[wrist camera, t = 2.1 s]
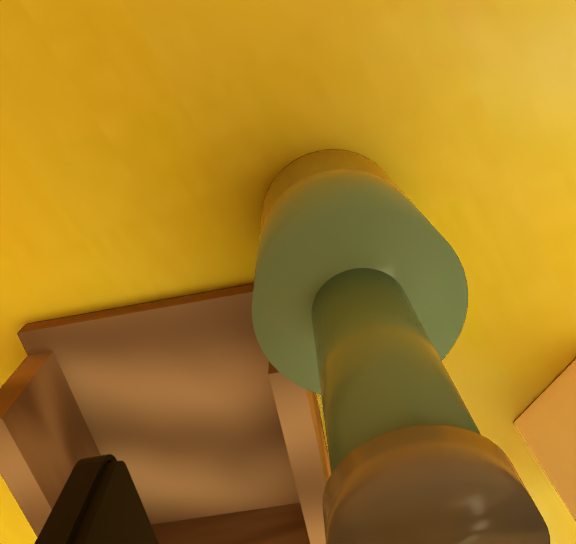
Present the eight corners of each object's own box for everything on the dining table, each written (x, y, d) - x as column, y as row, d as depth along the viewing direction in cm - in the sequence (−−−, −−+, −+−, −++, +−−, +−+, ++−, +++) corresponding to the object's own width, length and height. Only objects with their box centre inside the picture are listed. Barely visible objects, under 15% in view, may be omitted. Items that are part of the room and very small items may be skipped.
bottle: (247, 164, 19) (172, 433, 6) (392, 136, 19) (692, 350, 5) (276, 292, 22) (271, 701, 8) (404, 269, 21) (633, 656, 8)
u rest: (25, 324, 22) (-45, 397, 17) (292, 276, 21) (295, 340, 17) (124, 531, 28) (91, 630, 23) (337, 500, 27) (349, 595, 22)
